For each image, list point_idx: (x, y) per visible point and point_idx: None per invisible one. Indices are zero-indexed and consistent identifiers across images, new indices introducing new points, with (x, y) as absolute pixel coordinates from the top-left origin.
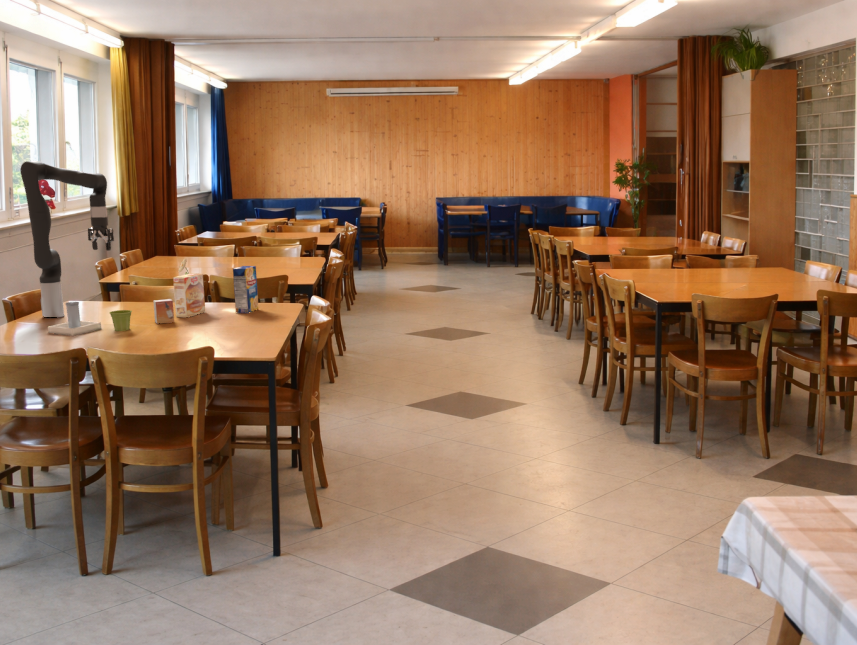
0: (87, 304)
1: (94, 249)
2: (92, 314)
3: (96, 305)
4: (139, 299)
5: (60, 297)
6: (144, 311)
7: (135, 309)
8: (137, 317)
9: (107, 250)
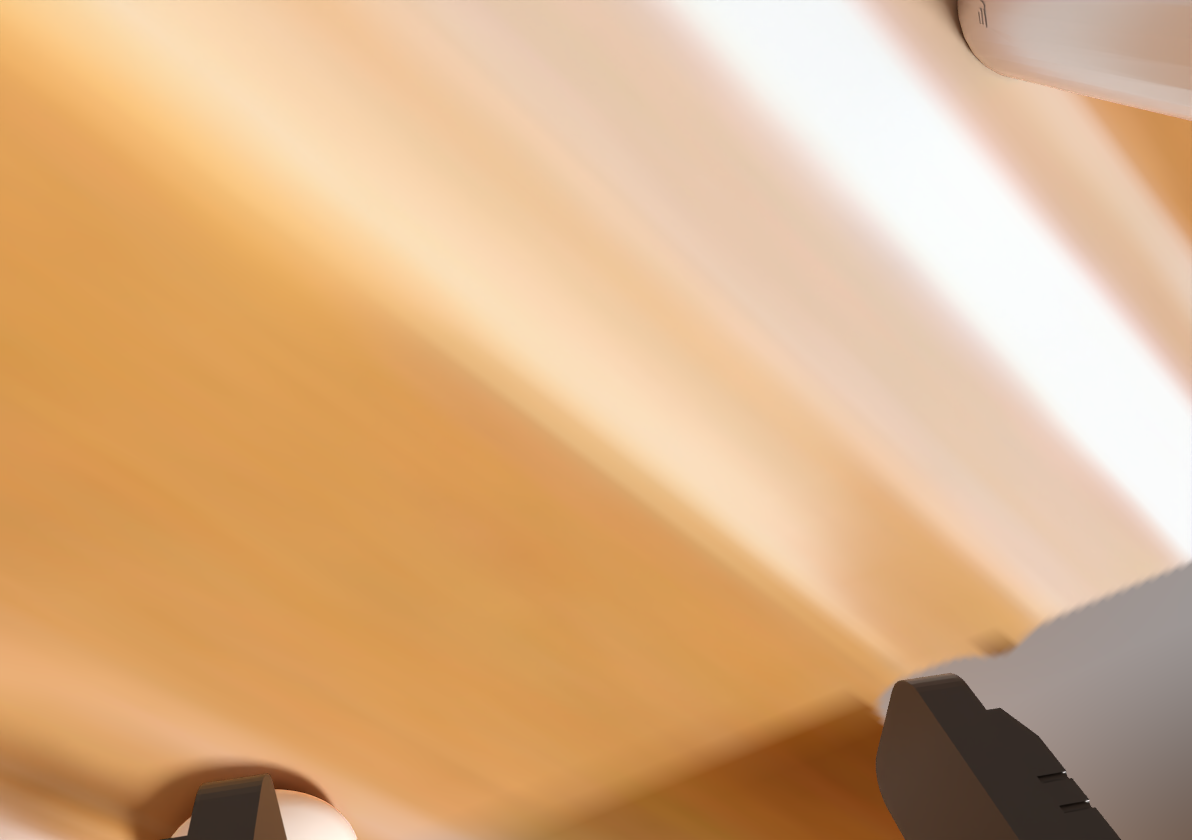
0: (1097, 517)
1: (905, 691)
2: (743, 226)
3: (1001, 521)
4: (838, 780)
5: (1100, 18)
6: (378, 525)
7: (543, 548)
8: (136, 294)
9: (209, 784)
